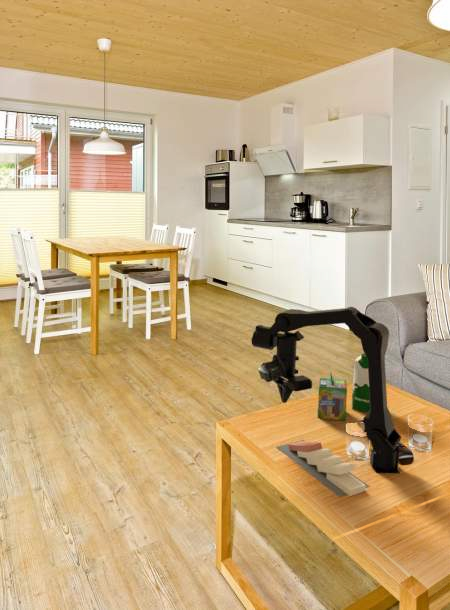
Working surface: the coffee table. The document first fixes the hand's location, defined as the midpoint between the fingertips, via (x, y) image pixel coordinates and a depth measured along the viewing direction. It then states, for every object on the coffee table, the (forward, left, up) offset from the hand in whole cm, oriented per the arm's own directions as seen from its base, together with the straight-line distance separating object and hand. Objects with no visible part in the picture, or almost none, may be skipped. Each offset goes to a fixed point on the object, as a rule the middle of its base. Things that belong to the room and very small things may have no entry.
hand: (284, 402), depth 152 cm
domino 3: (-7, +14, -11) cm, 19 cm away
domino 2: (-5, +10, -11) cm, 16 cm away
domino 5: (-11, +21, -11) cm, 26 cm away
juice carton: (-18, -18, -12) cm, 28 cm away
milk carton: (-31, -24, -12) cm, 41 cm away
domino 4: (-10, +18, -11) cm, 23 cm away
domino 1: (-3, +6, -11) cm, 13 cm away
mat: (-9, +16, -12) cm, 22 cm away
